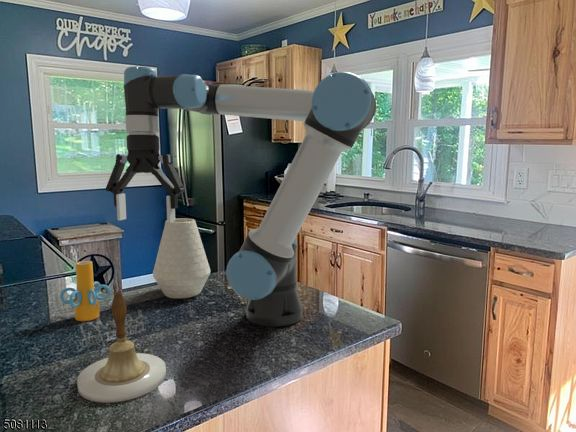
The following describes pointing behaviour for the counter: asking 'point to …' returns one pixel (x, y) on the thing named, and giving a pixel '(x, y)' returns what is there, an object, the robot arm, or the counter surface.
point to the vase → (181, 260)
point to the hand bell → (121, 349)
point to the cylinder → (85, 293)
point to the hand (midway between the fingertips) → (146, 220)
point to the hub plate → (121, 391)
